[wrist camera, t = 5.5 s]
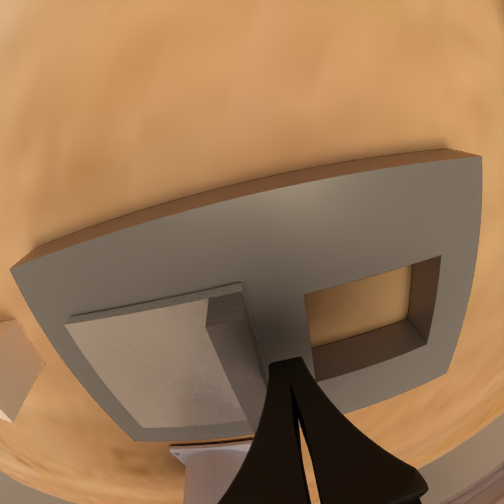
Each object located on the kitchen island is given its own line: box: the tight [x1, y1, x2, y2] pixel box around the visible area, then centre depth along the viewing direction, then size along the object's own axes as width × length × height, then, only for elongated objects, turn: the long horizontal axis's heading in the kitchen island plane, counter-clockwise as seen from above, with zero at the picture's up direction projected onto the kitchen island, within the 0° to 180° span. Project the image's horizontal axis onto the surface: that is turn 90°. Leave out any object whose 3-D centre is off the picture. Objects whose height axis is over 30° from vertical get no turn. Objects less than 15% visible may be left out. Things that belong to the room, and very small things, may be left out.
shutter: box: [64, 282, 269, 433], centre depth 11 cm, size 8×8×2 cm
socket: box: [10, 149, 482, 441], centre depth 13 cm, size 14×22×2 cm, turn 103°
